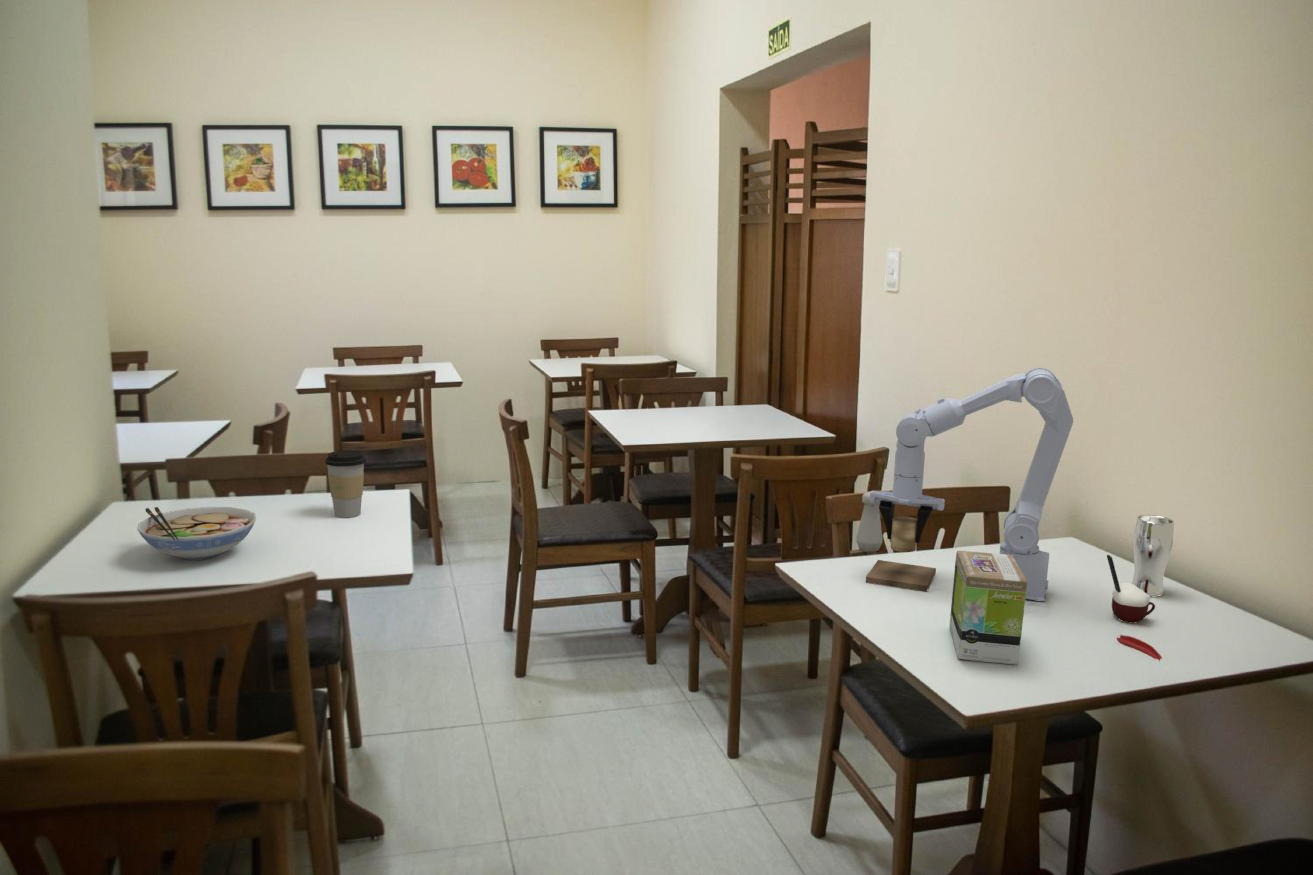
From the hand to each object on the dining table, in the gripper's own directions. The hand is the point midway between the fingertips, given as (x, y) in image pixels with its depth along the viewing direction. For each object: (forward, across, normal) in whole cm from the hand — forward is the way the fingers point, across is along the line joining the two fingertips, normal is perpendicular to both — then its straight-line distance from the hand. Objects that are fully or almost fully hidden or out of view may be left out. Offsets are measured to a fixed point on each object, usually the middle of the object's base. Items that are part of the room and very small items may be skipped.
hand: (903, 539), depth 208 cm
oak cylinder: (+2, 0, 0) cm, 2 cm away
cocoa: (+8, +42, -4) cm, 43 cm away
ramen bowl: (+9, -136, -52) cm, 146 cm away
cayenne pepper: (+9, +44, -18) cm, 48 cm away
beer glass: (+8, +46, +14) cm, 49 cm away
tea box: (+8, +19, -29) cm, 36 cm away
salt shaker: (+8, -10, +16) cm, 21 cm away
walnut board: (+8, 0, 0) cm, 8 cm away
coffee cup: (+8, -129, -14) cm, 130 cm away
